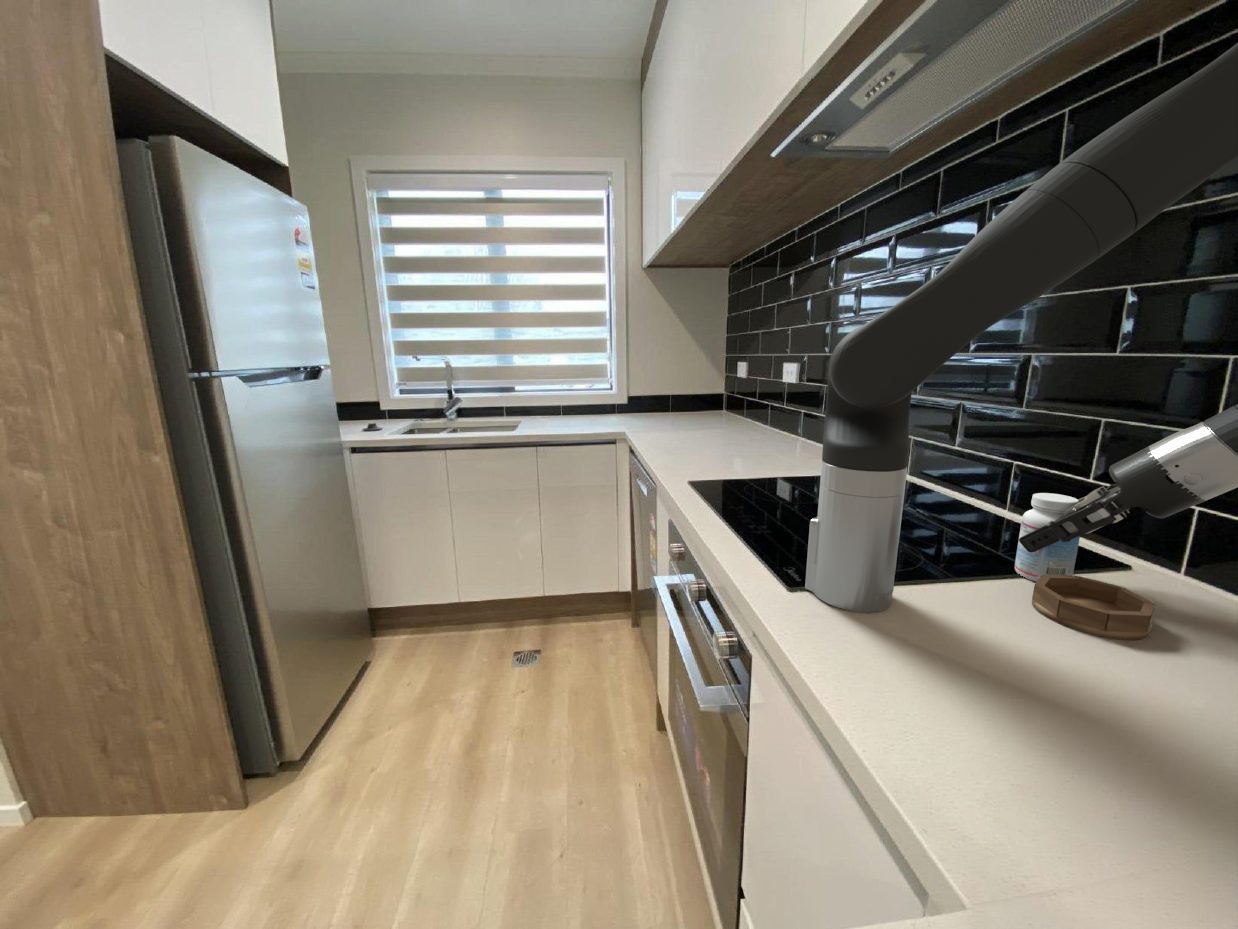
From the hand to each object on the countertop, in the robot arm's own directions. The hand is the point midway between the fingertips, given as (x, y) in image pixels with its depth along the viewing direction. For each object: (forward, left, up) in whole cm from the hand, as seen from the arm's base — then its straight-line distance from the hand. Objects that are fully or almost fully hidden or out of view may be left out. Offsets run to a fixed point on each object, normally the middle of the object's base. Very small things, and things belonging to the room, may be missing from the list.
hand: (1031, 539), depth 67 cm
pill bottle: (+2, 0, -5) cm, 5 cm away
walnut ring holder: (+8, -9, -5) cm, 13 cm away
